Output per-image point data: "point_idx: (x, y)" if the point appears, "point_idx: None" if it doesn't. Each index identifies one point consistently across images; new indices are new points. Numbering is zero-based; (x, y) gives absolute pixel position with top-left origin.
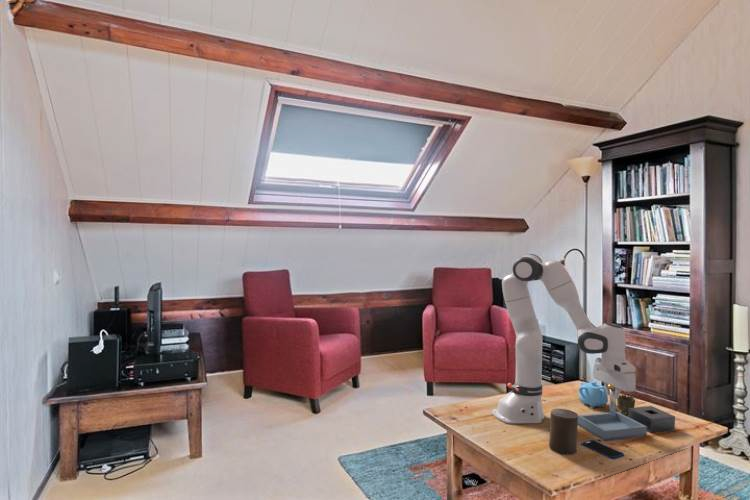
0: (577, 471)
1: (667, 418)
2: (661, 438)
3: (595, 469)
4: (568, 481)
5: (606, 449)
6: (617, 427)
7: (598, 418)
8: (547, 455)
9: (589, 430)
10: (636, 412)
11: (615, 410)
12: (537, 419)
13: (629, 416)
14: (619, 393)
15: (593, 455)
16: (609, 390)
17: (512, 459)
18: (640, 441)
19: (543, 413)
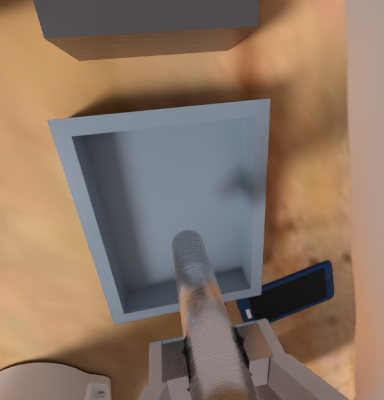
0: (338, 363)
1: None
2: (281, 41)
3: (346, 337)
4: (354, 380)
5: (295, 291)
6: (174, 185)
7: (107, 236)
8: None
9: None
10: (128, 34)
11: (205, 251)
12: (97, 390)
13: (77, 52)
14: (291, 356)
15: (302, 322)
16: (179, 395)
17: None
18: (278, 160)
19: (53, 379)
